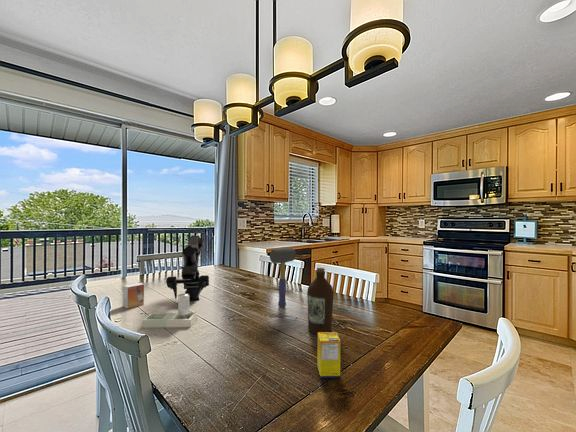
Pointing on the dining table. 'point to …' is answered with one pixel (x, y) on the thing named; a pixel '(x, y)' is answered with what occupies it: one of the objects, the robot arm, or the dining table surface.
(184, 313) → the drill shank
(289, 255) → the rubber mallet
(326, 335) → the supplement box
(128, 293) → the small box
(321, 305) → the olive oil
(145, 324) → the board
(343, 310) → the dining table surface
